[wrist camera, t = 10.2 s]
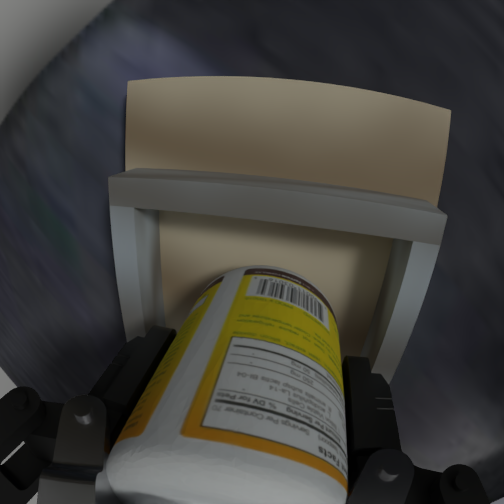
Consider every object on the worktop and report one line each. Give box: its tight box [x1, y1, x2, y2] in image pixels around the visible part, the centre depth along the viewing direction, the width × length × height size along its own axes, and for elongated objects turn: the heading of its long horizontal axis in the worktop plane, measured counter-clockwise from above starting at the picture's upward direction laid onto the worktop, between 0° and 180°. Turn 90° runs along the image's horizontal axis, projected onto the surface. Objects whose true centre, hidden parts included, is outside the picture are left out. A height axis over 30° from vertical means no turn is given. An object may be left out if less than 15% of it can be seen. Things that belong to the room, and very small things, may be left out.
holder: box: [108, 76, 451, 384], centre depth 13 cm, size 18×12×3 cm, turn 176°
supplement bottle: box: [106, 265, 349, 504], centre depth 8 cm, size 6×6×10 cm
